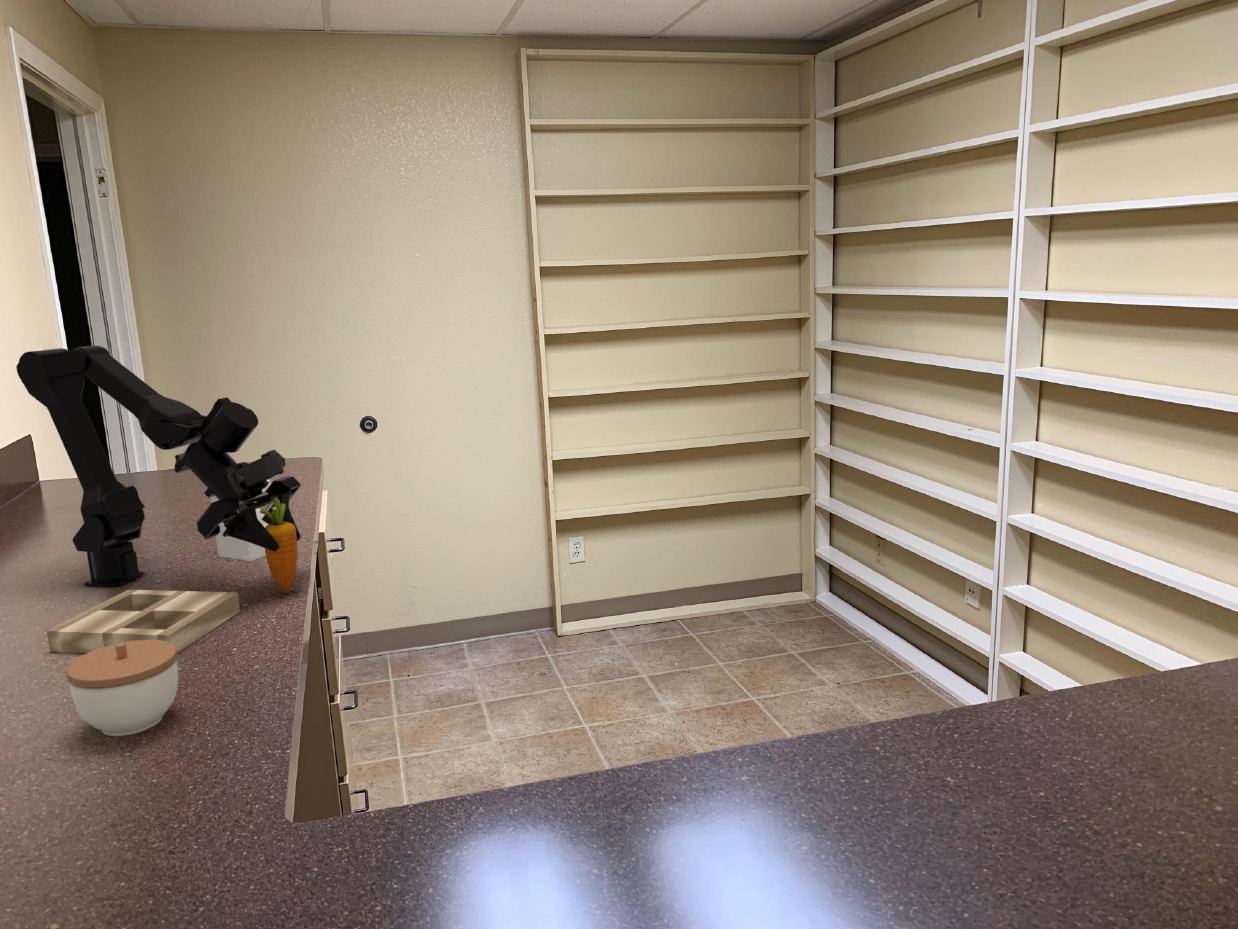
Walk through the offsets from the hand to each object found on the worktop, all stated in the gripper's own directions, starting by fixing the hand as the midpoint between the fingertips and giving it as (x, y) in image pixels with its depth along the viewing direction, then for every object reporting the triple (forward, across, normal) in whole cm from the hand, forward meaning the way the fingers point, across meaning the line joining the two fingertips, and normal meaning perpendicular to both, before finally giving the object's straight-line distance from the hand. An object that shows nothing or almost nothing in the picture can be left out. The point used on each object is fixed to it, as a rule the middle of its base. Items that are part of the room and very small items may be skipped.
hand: (288, 544), depth 138 cm
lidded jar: (+11, -40, 0) cm, 42 cm away
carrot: (+5, 0, +7) cm, 8 cm away
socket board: (-2, -17, +14) cm, 22 cm away
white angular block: (-10, +20, +22) cm, 31 cm away
